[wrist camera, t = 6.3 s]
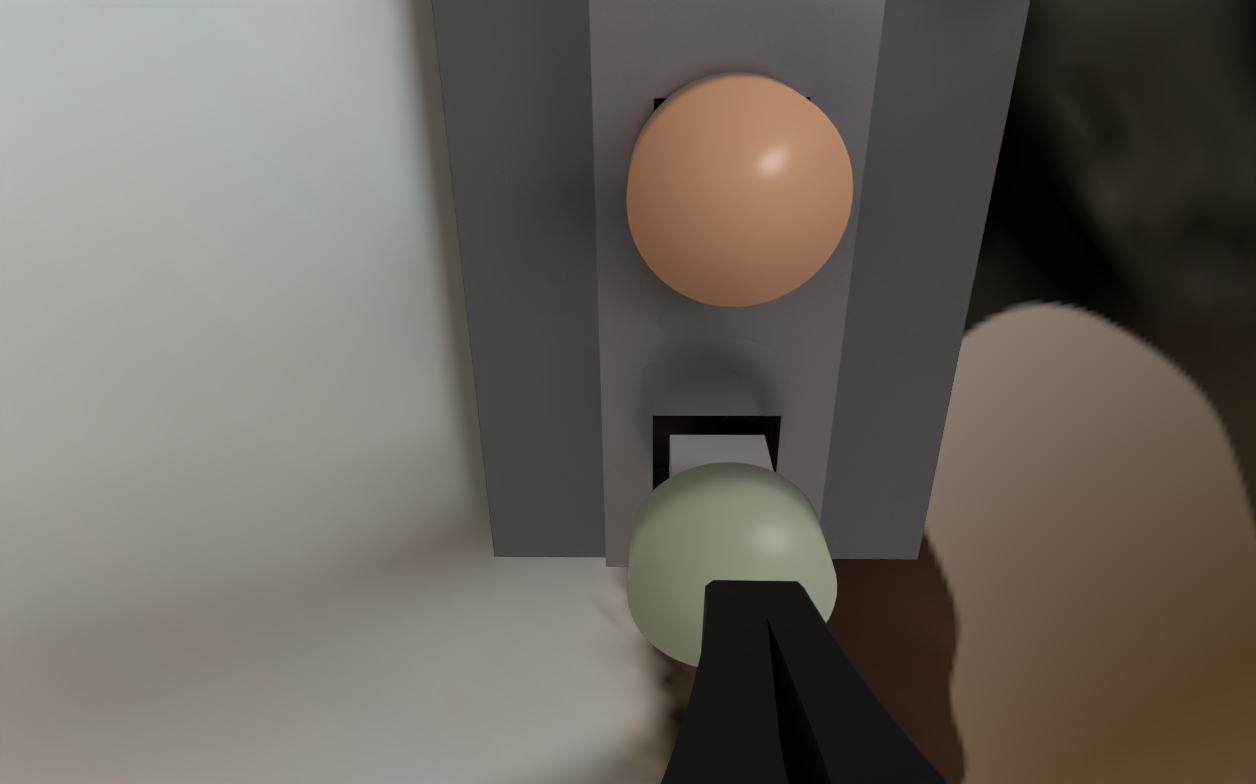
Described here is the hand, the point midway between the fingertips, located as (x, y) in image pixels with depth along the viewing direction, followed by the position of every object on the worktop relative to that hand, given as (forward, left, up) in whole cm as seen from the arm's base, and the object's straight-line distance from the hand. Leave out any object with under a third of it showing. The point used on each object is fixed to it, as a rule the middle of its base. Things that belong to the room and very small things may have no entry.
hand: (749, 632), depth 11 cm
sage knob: (0, +2, -7) cm, 7 cm away
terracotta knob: (0, -5, -10) cm, 11 cm away
